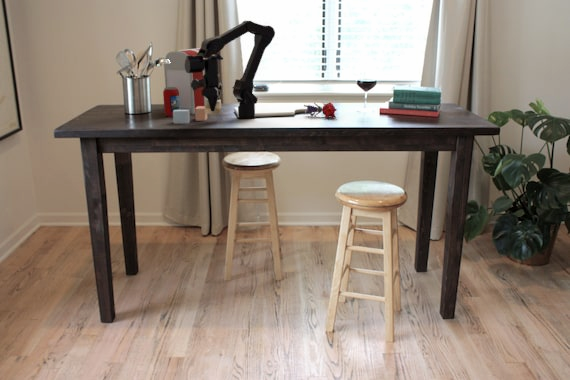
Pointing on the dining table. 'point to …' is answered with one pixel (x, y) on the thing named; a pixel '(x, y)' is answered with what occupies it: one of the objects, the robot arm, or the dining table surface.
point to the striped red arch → (184, 79)
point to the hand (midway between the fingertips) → (213, 110)
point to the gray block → (181, 116)
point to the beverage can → (171, 100)
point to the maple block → (217, 108)
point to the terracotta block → (200, 113)
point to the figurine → (322, 110)
